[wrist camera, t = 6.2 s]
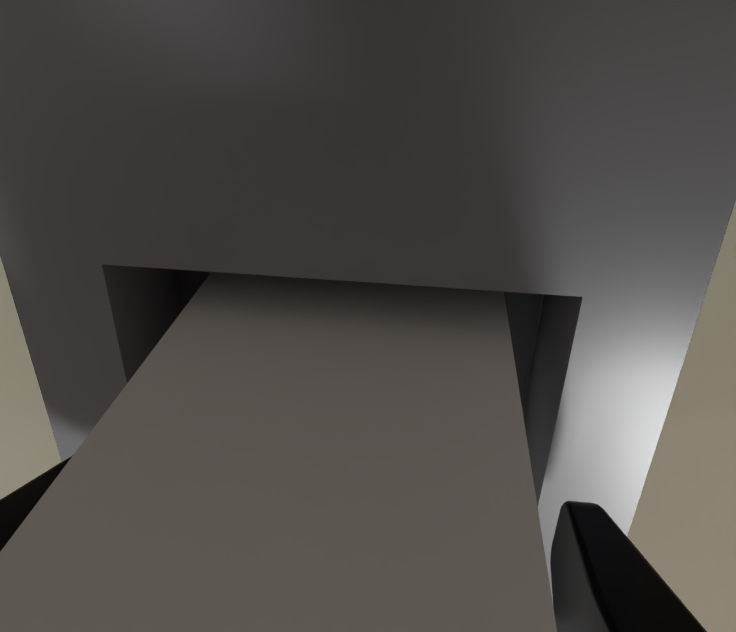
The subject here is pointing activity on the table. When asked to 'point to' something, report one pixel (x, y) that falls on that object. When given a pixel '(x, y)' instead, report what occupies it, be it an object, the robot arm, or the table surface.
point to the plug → (298, 475)
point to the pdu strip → (379, 188)
